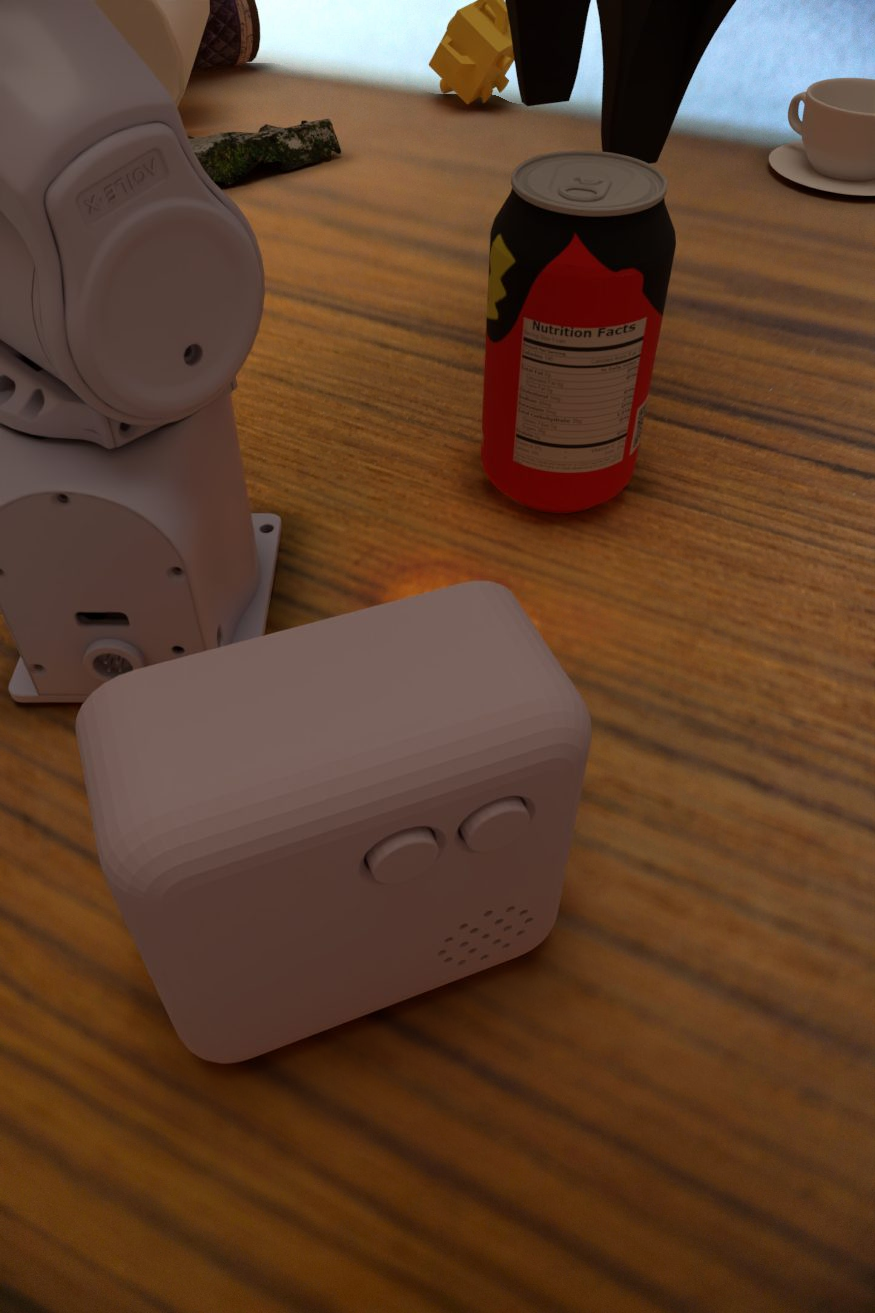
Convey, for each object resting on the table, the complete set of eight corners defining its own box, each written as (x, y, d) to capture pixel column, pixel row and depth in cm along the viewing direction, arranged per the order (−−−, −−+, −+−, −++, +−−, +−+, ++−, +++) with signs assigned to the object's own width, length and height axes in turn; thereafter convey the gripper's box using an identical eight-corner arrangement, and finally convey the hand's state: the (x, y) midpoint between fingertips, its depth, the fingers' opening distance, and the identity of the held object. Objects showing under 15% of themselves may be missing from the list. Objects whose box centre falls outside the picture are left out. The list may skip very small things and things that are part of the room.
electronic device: (197, 1104, 23) (91, 889, 16) (160, 937, 26) (57, 690, 19) (572, 959, 26) (628, 716, 18) (499, 821, 29) (523, 566, 21)
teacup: (951, 176, 64) (980, 98, 60) (870, 216, 59) (897, 133, 56) (820, 136, 69) (840, 62, 66) (736, 170, 64) (753, 91, 61)
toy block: (499, 109, 78) (449, 58, 77) (555, 19, 71) (501, -37, 71) (451, 140, 73) (397, 86, 72) (507, 47, 67) (448, -13, 66)
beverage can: (644, 453, 42) (701, 157, 33) (612, 541, 38) (667, 230, 29) (505, 425, 43) (524, 134, 34) (459, 506, 39) (467, 200, 30)
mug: (133, 75, 72) (276, 58, 77) (101, -39, 69) (253, -49, 74) (96, 102, 80) (229, 85, 85) (67, 2, 77) (205, -9, 82)
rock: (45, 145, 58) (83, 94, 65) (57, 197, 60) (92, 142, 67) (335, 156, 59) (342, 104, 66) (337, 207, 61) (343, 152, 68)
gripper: (898, -344, 26) (770, 180, 36) (634, -349, 35) (590, 69, 45) (671, -345, 24) (602, 207, 34) (456, -350, 34) (451, 85, 44)
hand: (585, 130), depth 40 cm, fingers open, 7 cm apart
